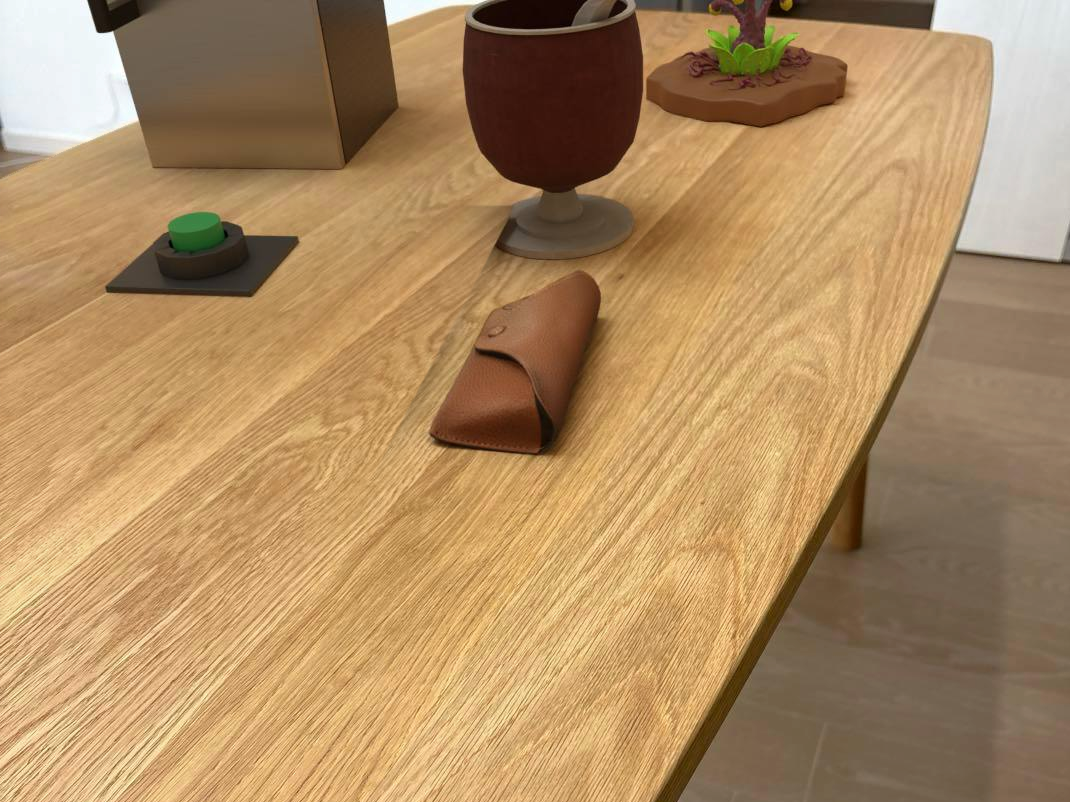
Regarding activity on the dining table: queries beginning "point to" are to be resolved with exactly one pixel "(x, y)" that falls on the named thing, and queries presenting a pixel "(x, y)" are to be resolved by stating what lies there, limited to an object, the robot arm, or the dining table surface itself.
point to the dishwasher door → (227, 81)
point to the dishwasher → (358, 68)
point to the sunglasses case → (522, 370)
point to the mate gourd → (555, 114)
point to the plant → (747, 74)
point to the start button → (196, 231)
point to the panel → (205, 266)
